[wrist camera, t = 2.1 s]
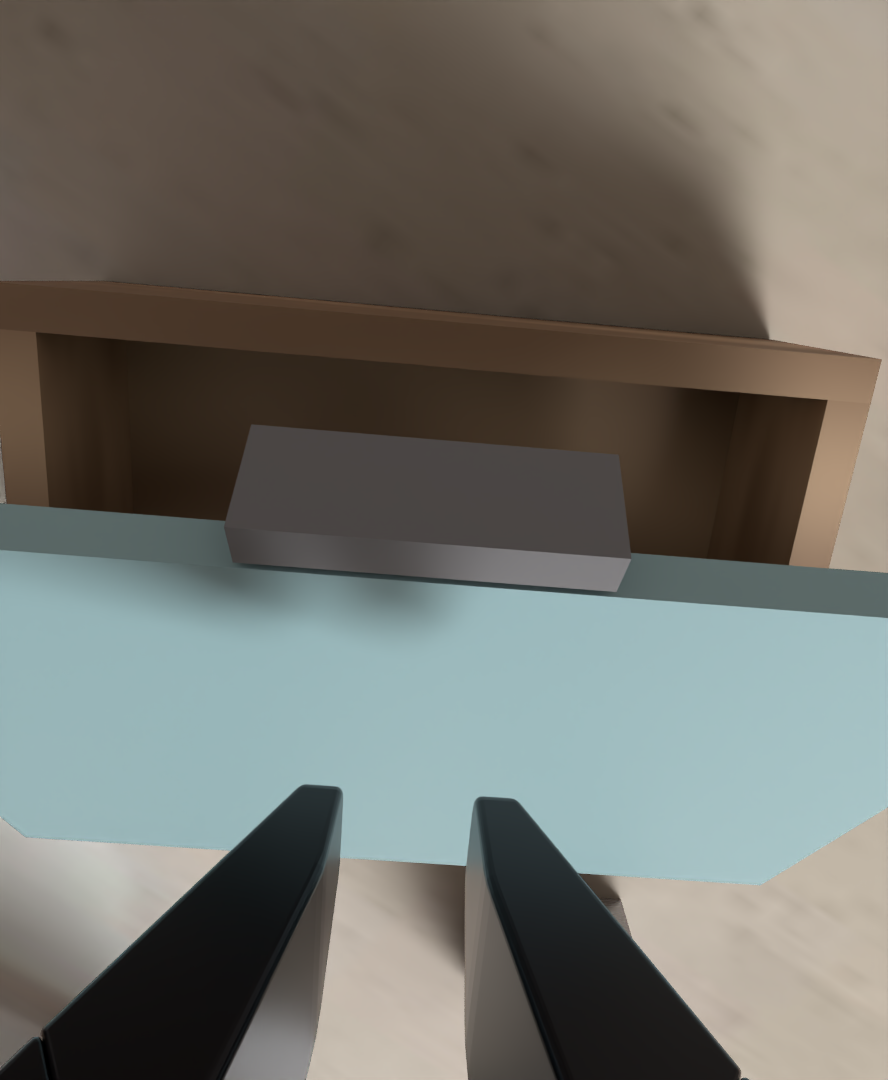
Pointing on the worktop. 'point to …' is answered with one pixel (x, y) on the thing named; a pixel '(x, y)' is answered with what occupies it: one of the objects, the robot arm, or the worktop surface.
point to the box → (424, 406)
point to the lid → (434, 667)
